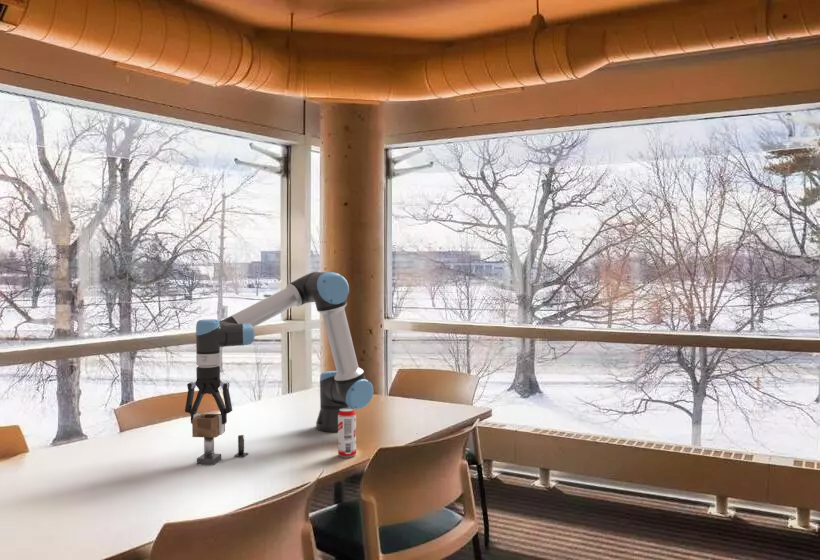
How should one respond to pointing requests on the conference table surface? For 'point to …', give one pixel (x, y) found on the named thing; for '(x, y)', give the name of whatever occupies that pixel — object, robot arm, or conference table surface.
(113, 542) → the conference table surface
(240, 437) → the stand
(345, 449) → the beer can
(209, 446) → the hub
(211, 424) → the brown box
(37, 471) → the conference table surface
